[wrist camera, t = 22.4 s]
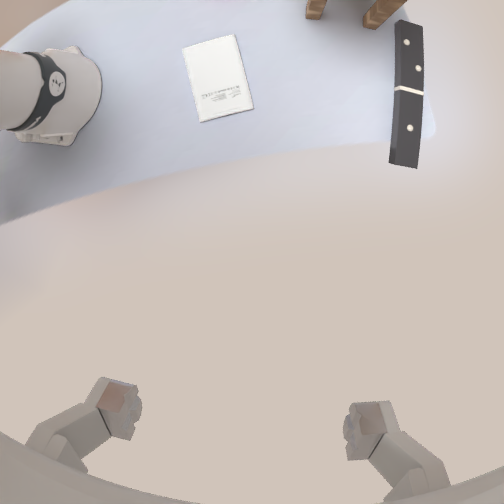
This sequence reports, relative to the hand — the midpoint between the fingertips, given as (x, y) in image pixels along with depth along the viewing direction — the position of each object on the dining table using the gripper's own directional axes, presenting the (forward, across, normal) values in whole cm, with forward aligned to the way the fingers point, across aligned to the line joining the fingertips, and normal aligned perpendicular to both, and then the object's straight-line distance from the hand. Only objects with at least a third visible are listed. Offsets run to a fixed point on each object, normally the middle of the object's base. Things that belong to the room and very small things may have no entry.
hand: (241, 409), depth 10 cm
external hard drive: (+40, -8, +18) cm, 44 cm away
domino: (+39, +21, +19) cm, 48 cm away
